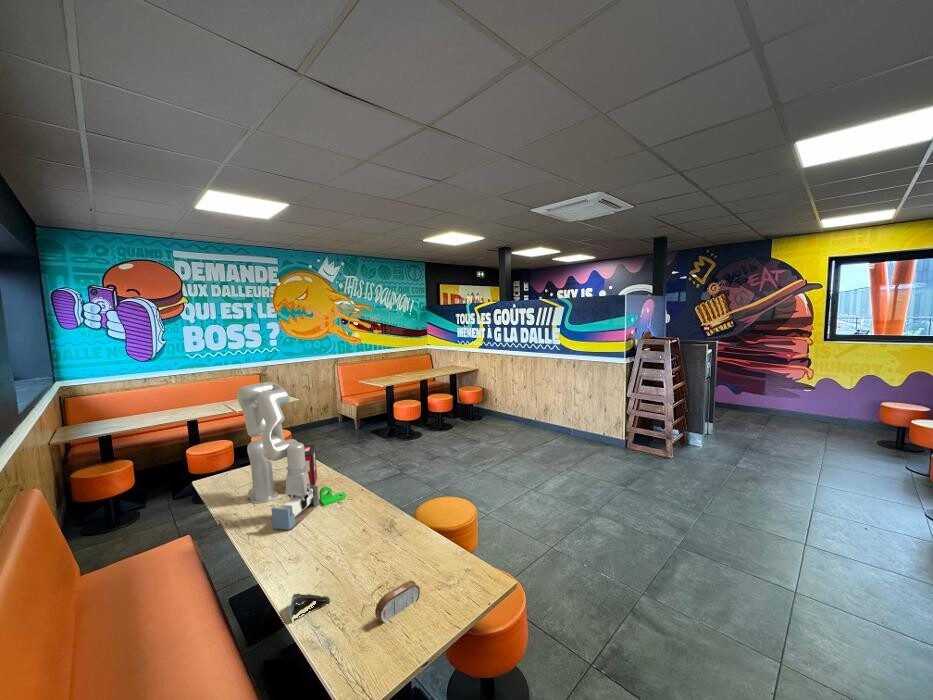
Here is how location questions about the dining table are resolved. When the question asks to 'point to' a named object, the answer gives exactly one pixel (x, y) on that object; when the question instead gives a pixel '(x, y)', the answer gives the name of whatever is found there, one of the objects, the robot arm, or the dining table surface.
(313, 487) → the endcap rack
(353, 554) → the dining table surface
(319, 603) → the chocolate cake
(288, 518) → the sliding end cap
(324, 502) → the mechanical part
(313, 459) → the cleaning product box
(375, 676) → the dining table surface
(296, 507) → the slat
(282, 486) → the dining table surface
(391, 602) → the tin
